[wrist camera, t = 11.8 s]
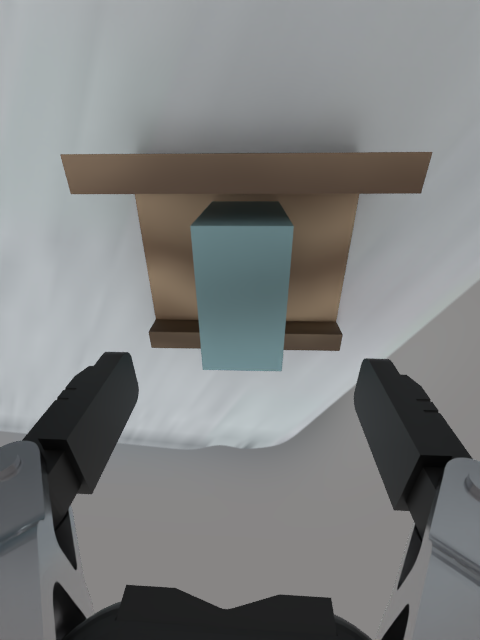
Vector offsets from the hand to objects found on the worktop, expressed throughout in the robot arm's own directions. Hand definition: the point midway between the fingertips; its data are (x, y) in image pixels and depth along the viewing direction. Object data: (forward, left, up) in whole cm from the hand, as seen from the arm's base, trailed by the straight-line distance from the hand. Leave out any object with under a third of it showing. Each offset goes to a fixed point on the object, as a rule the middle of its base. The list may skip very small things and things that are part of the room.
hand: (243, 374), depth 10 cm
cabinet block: (0, 0, -13) cm, 13 cm away
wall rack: (-1, 0, -15) cm, 15 cm away
